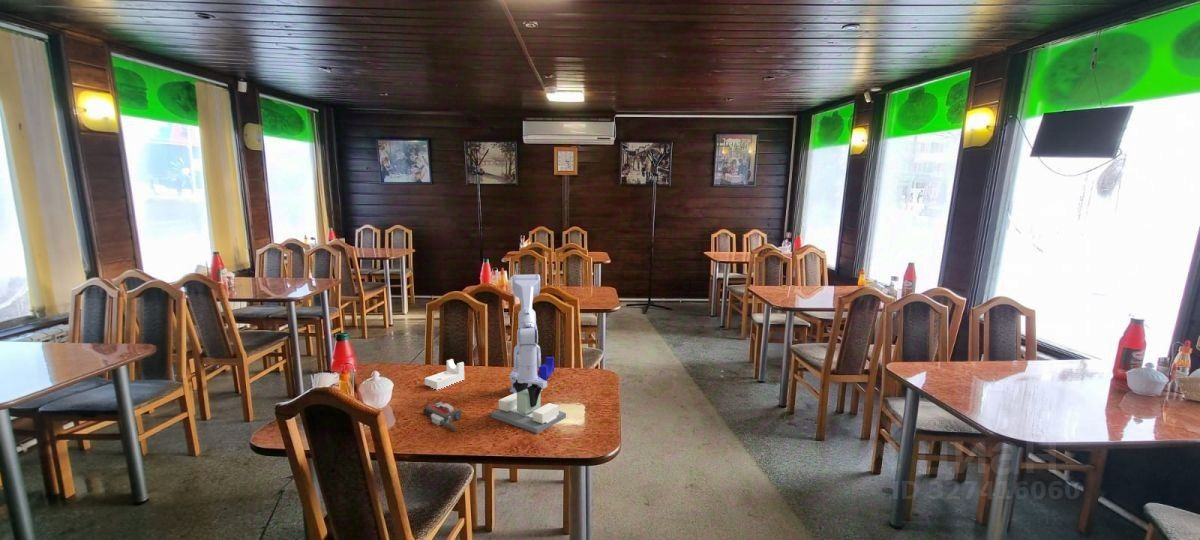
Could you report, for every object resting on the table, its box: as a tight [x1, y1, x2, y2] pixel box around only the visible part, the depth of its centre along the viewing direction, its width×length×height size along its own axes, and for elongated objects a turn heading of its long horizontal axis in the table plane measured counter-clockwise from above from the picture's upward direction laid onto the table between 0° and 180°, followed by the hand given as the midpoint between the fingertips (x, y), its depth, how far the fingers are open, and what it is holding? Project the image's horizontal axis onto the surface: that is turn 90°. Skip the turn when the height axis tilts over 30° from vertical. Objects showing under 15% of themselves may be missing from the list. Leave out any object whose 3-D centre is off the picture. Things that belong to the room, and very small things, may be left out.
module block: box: [517, 389, 542, 414], centre depth 162 cm, size 4×7×6 cm, turn 146°
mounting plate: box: [490, 393, 567, 434], centre depth 163 cm, size 20×14×5 cm
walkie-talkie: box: [422, 401, 462, 431], centre depth 161 cm, size 9×4×20 cm
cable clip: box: [538, 356, 555, 382], centre depth 202 cm, size 12×4×6 cm, turn 171°
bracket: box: [424, 358, 465, 391], centre depth 192 cm, size 13×7×8 cm, turn 146°
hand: (528, 404), depth 162 cm, fingers closed on module block, 4 cm apart
